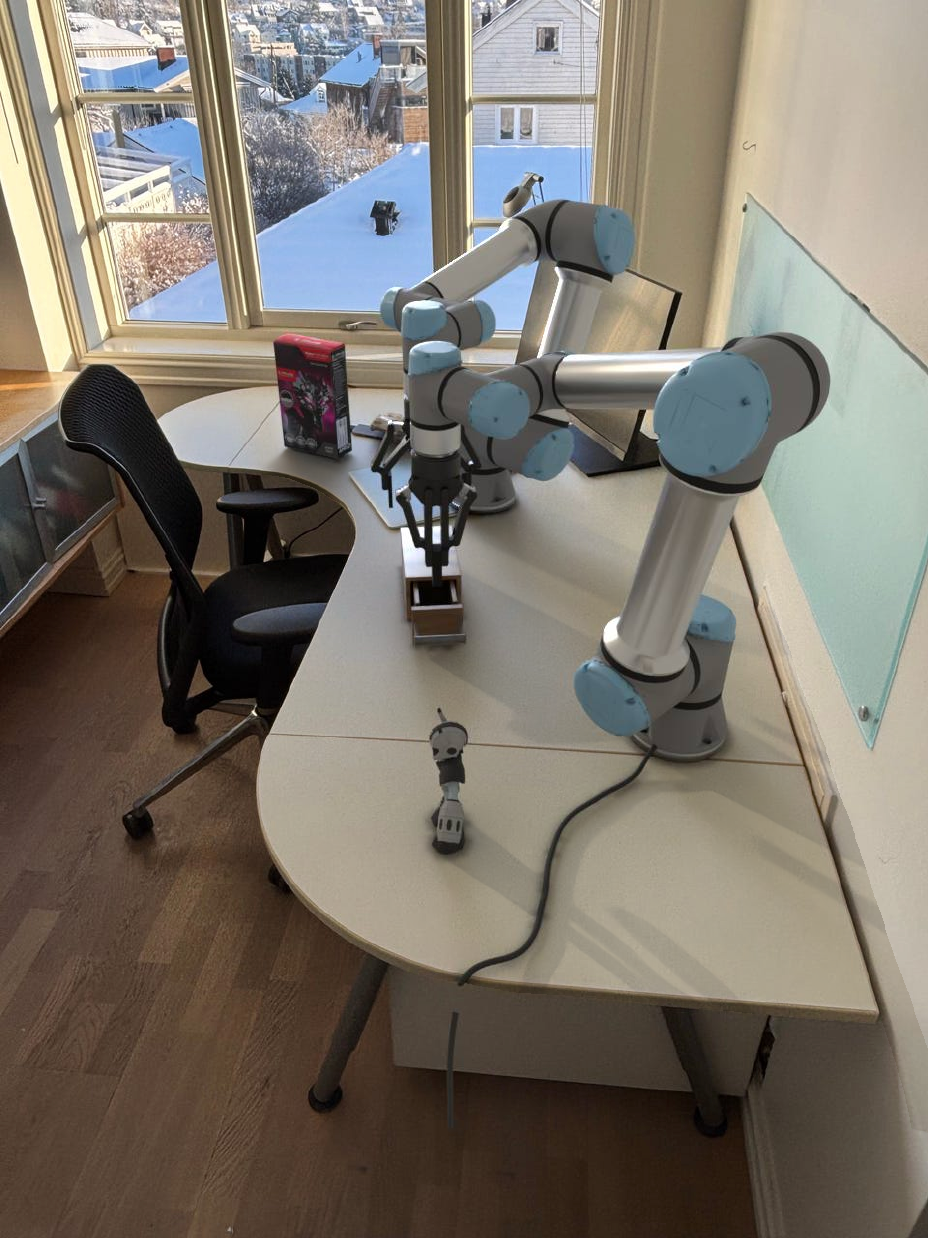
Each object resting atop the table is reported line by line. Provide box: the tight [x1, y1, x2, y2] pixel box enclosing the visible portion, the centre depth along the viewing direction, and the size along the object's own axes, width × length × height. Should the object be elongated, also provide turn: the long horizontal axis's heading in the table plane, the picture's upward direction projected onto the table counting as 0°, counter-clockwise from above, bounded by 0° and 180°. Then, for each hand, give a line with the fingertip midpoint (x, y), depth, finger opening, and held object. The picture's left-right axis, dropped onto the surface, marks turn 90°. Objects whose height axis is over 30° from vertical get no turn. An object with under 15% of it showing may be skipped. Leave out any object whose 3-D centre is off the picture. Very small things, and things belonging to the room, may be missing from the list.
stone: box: [369, 412, 406, 443], centre depth 234 cm, size 21×15×6 cm
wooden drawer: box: [411, 579, 467, 647], centre depth 163 cm, size 24×9×7 cm, turn 6°
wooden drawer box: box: [400, 525, 462, 621], centre depth 174 cm, size 19×10×9 cm, turn 6°
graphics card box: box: [272, 332, 353, 460], centre depth 223 cm, size 17×7×27 cm, turn 62°
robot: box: [428, 707, 469, 855], centre depth 120 cm, size 20×5×20 cm, turn 3°
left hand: (426, 503), depth 174 cm, fingers open, 13 cm apart
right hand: (436, 582), depth 151 cm, fingers closed
